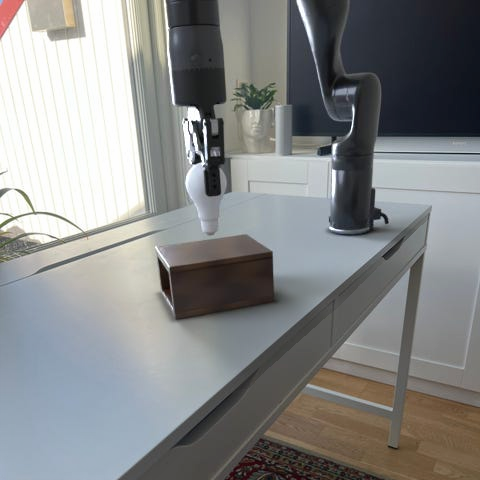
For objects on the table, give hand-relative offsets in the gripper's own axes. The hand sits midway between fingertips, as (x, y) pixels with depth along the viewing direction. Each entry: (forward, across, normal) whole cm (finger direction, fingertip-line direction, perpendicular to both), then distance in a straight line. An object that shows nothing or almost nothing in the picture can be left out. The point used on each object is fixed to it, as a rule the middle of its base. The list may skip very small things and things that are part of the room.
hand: (207, 192), depth 72 cm
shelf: (+17, 0, 0) cm, 17 cm away
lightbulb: (+7, 0, 0) cm, 7 cm away
